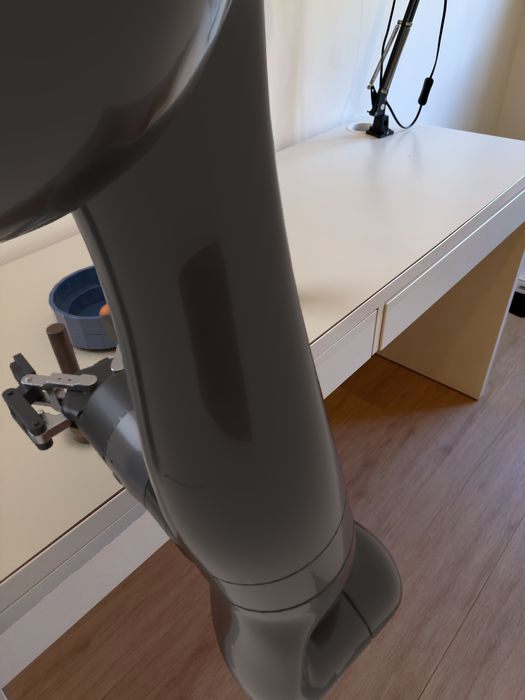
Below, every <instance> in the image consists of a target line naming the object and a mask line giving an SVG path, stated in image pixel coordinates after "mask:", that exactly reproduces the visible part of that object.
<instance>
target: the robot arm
mask: <svg viewBox="0 0 525 700" xmlns="http://www.w3.org/2000/svg"><path fill="white" fill-rule="evenodd" d="M265 16H266V14H265V0H0V245H1V244H3V243H6V242H9V241H11V240H14V239H17V238H19V237H22V236H24V235H27V234H29V233H32V232H34V231H37V230H39V229H41V228H43V227H45V226H48V225H50V224H53V223H54V222H56V221H58V220H60V219H62V218H63V217H64V218H65V217H66V216H67V215H69V214H71V216H72V218H73V220H74V222H75V225H76V226H77V229H78V231H79V233H80V235H81V237H82V240H83V242H84V244H85V246H86V250H87V252H88V254H89V256H90V259H91V261H92V264H93V265H94V267H95V269H96V272H97V275H98V278H99V281H100V284H101V287H102V290H103V293H104V296H105V299H106V302H107V305H108V308H109V311H110V315H111V316H110V315H109V314H107V315H105V316H103V317H101V320H102V324H103V327H104V330H105V333H106V334H107V336H108V337H109V338H111V339H112V340H113V341H114V342H115V343H116V344H117V347H115V348H116V349H115V353H114V357H109V356H106V357H104V358H102V359H100V360H98V361H97V362H95V363H94V364H92V366H87V367H85V368H82V369H81V368H80V370H79V371H77V372H75V373H74V375H70V374H62V372H51V374H50V375H41V374H37V371H36V370H35V369H34V367H33V366H32V364H30V362H29V361H28V360H27V359H26V357H24V355H23V354H22V353H21V352H19V353H17V354H14V355H12V358H13V361H12V362H10V363H9V369H10V371H11V373H12V376H13V377H14V380H15V382H17V384H18V386H17V387H9V388H6V389H5V390H3V391H2V393H1V398H2V400H3V401H4V403H5V404H6V406H7V408H8V410H9V413H10V415H11V418H12V420H14V421H15V422H16V424H17V425H18V426H19V428H21V430H22V431H23V432H24V433H25V435H26V436H27V437H28V438H29V439H30V440H31V442H32V443H33V444H34V445H35V447H36V448H37V449H38V450H39V451H47V450H49V449H51V448H52V447H53V446H54V439H53V438H54V437H56V436H57V435H59V434H60V433H62V432H64V431H66V430H67V429H69V428H71V429H74V430H78V431H80V432H81V433H82V434H83V435H84V437H85V438H86V439H87V440H88V442H89V443H88V444H89V445H90V446H91V447H92V448H93V449H94V450H95V452H96V454H97V455H98V456H99V457H100V458H101V460H102V461H103V462H104V464H106V466H107V467H108V468H109V470H110V471H111V473H112V476H113V477H114V478H115V480H116V481H117V482H118V484H120V485H121V486H122V487H124V489H125V490H126V491H127V492H128V493H129V495H130V496H132V497H133V498H134V499H135V500H136V501H137V502H139V504H141V505H142V506H143V507H144V508H145V509H146V510H147V512H148V513H149V514H150V516H151V517H152V518H153V519H154V520H155V522H156V523H157V524H158V526H160V528H161V529H162V531H163V532H164V533H165V534H166V535H167V537H168V538H169V539H170V540H171V541H172V543H173V544H174V545H175V546H176V548H177V549H178V550H179V552H180V553H181V554H182V555H183V556H184V557H185V558H186V559H187V560H188V561H190V562H191V563H193V564H194V565H195V567H196V568H197V569H198V571H199V573H200V574H201V575H202V576H203V578H204V579H205V580H206V581H207V583H208V586H209V599H210V601H209V602H210V612H211V613H210V614H211V619H212V620H211V621H212V625H213V631H214V634H215V638H216V642H217V645H218V648H219V651H220V654H221V656H222V659H223V660H224V663H225V665H226V667H227V669H228V670H229V672H230V674H231V676H232V677H233V679H234V680H235V682H236V683H237V685H238V686H239V687H240V688H241V690H242V691H243V693H245V694H246V696H248V697H249V699H251V700H322V699H323V698H324V697H325V696H326V695H327V694H328V693H329V692H330V690H332V688H333V687H334V686H335V685H336V683H337V682H338V681H339V680H340V679H341V678H342V677H343V675H344V674H345V673H346V672H347V671H348V670H349V668H350V667H351V666H352V665H353V664H354V663H355V661H356V660H357V659H358V658H359V657H360V655H361V654H362V653H363V652H364V651H365V649H367V647H368V646H369V645H370V644H371V643H372V641H373V640H374V639H375V638H376V637H377V636H378V635H379V634H380V633H381V632H382V631H383V629H384V628H385V627H386V626H387V625H388V623H389V622H390V621H391V620H392V619H393V617H394V616H395V614H396V613H397V611H398V609H399V608H400V606H401V603H402V600H403V583H402V578H401V577H402V576H401V573H400V571H399V568H398V566H397V564H396V561H395V559H394V558H393V555H392V554H391V552H390V551H389V549H388V548H387V547H386V546H385V544H384V543H383V542H382V541H381V540H380V538H379V537H377V536H376V534H374V532H371V530H369V529H368V528H366V526H364V525H363V524H361V523H360V522H359V521H357V520H355V519H354V516H353V512H352V506H351V502H350V498H349V493H348V489H347V485H346V480H345V475H344V472H343V468H342V464H341V460H340V456H339V452H338V449H337V445H336V440H335V436H334V433H333V429H332V426H331V422H330V418H329V413H328V411H327V406H326V402H325V398H324V394H323V391H322V387H321V383H320V379H319V376H318V375H319V374H318V372H317V367H316V363H315V358H314V355H313V352H312V348H311V344H310V339H309V335H308V332H307V327H306V323H305V318H304V314H303V310H302V306H301V302H300V296H299V291H298V287H297V282H296V278H295V273H294V267H293V262H292V261H293V260H292V256H291V250H290V244H289V238H288V232H287V227H286V219H285V214H284V213H285V212H284V207H283V201H282V193H281V186H280V180H279V174H278V165H277V157H276V148H275V139H274V133H273V132H274V131H273V130H274V129H273V122H272V113H271V101H270V88H269V84H270V83H269V74H268V73H269V71H268V60H267V59H268V57H267V37H266V17H265ZM33 406H40V407H41V406H42V407H47V408H52V409H53V410H54V411H55V412H57V413H59V414H51V413H50V412H45V411H44V410H45V409H38V410H36V408H34V407H33Z"/></svg>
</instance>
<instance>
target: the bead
mask: <svg viewBox="0 0 525 700" xmlns="http://www.w3.org/2000/svg"><path fill="white" fill-rule="evenodd" d="M107 314H110V311H109V308H108V305H107V304H106V305H104V306H103V307H102V308H101V310H100V313H99V316H102V315H107Z"/></svg>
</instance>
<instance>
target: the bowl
mask: <svg viewBox="0 0 525 700" xmlns="http://www.w3.org/2000/svg"><path fill="white" fill-rule="evenodd" d="M106 304H107V302H106V299H105V296H104V293H103V290H102V287H101V284H100V281H99V278H98V275H97V272H96V269H95V267H94V264H93V265H89V266H86V267H83V268H80V269H77V270H75V271H73V272H72V273H69V274H67V275H66V276H64V277H62V278H61V279H60V280H59V281H57V283H55V284H54V286H53V287H52V288H51V291H50V292H49V293H48V305H49V308H50V311H51V314H52V317H53V319H54V323H63V324H64V325H65V327H66V329H67V332H68V335H69V338H70V341H71V344H72V347H76V348H81V349H86V350H107V349H112V348H117V344H116V343H115V342H114V341H113V340H112V339H111V338H109V337H108V336H107V334H106V333H105V330H104V327H103V324H102V320H101V317H103V316H105V315H102V316H99V313H100V310H101V308H102V307H103V306H104V305H106ZM109 315H110V314H109ZM110 316H111V315H110Z"/></svg>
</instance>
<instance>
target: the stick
mask: <svg viewBox="0 0 525 700" xmlns="http://www.w3.org/2000/svg"><path fill="white" fill-rule="evenodd" d="M45 333H46V335H47V338H48V340H49V344H50V346H51V349H52V351H53V354H54V357H55V360H56V361H57V364H58V366H59V370H60V373H62V374H70V375H74V373H75V372H77V371H79V370H81V366H80V364H79V361H78V359H77V355H76V352H75V350H74V346H73V345H72V344H71V341H70V338H69V335H68V332H67V329H66V327H65V325H64V324H63V323H56V322H54V323H51V324H49V325H48V326H47V327H46V328H45ZM68 429H69V431H70V434H71V436H72V439H74V440H75V441H76V442H79V443H82V444H90V443H89V442H88V440H87V439H86V438H85V437H84V435H83V434H82V433H81V432H80V431H78V430H74V429H71V428H68Z"/></svg>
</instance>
